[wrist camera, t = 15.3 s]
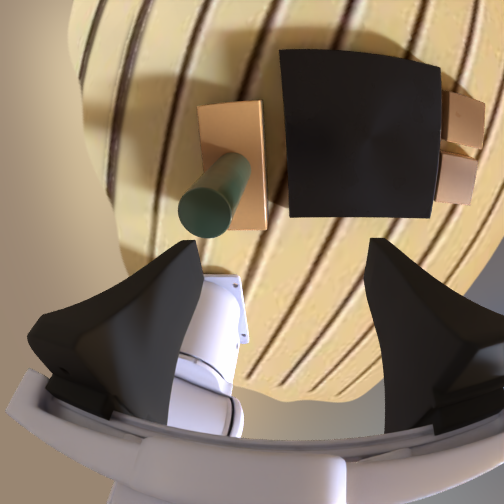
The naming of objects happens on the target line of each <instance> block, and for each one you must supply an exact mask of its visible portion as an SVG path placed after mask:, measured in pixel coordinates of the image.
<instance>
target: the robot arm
mask: <svg viewBox="0 0 504 504" xmlns="http://www.w3.org/2000/svg"><path fill="white" fill-rule="evenodd" d="M363 279H364V285H365V291H366V296H367V301H368V304H369V308H370V311H371V314H372V318H373V321H374V325H375V328H376V332H377V336H378V339H379V343H380V348H381V354H382V363H383V372H384V385H385V431H384V434H381V435H375V436H367V437H358V438H347V439H334V440H311V441H309V440H308V441H288V440H287V441H286V440H263V439H249V438H240V437H241V434H242V430H243V423H244V414H243V410H242V407H241V404H240V401H239V400H238V399H237V398H236V397H233V396H231V393H232V388H233V384H232V382H233V377H234V372H235V366H236V361H237V356H238V351H239V345H240V343H242V344H246V343H248V342H249V333H248V326H247V320H246V313H245V306H244V299H243V292H242V285H241V279H240V277H239V276H238V275H235V274H203V271H202V267H201V263H200V258H199V254H198V249H197V245H196V241H195V240H182V241H180V242H178V243H177V244H175V245H174V246H172V247H171V248H169V249H168V250H167V251H165V252H164V253H163V254H161V255H160V256H158V257H157V258H156V259H154V260H153V261H152V262H150V263H149V264H147V265H146V266H145V267H143V268H142V269H140V270H139V271H137V272H136V273H134V274H133V275H132V276H130V277H128V278H127V279H125V280H124V281H122V282H120V283H119V284H117V285H115V286H114V287H112V288H110V289H108V290H106V291H104V292H102V293H100V294H98V295H96V296H94V297H92V298H90V299H87V300H85V301H83V302H80V303H78V304H75V305H73V306H70V307H67V308H64V309H61V310H57V311H54V312H51V313H47V314H43V315H42V316H41V317H40V318H39V319H38V321H37V322H36V324H35V325H34V326H33V328H32V329H31V330H30V332H29V333H28V335H27V339H28V343H29V345H30V347H31V348H32V350H33V351H34V353H35V354H36V355H37V356H38V357H39V359H40V360H41V361H42V362H43V363H44V365H45V366H46V367H47V368H48V369H49V370H50V371H51V372H52V373H53V375H52V377H51V378H50V379H49V378H48V377H46V376H45V375H43V374H41V373H39V372H37V371H35V370H33V369H31V368H29V369H28V370H27V372H26V373H25V375H24V377H23V379H22V380H21V382H20V384H19V386H18V387H17V389H16V391H15V393H14V395H13V397H12V399H11V401H10V402H9V405H8V406H7V408H6V410H5V411H6V413H7V414H8V415H9V416H10V417H11V418H13V419H14V420H15V421H16V422H18V423H19V424H20V425H22V426H23V427H24V428H25V429H27V430H28V431H29V432H31V433H32V434H34V435H35V436H36V437H38V438H39V439H41V440H42V441H44V442H45V443H47V444H48V445H50V446H51V447H53V448H54V449H56V450H57V451H59V452H61V453H62V454H64V455H66V456H67V457H69V458H71V459H73V460H74V461H76V462H78V463H80V464H82V465H83V466H85V467H88V468H89V469H91V470H93V471H95V472H97V473H99V474H101V475H104V476H106V477H108V478H110V479H113V480H114V483H113V486H112V489H111V492H110V495H109V497H108V500H107V503H106V504H406V503H409V502H413V501H416V500H420V499H423V498H426V497H429V496H432V495H435V494H437V493H441V492H443V491H446V490H449V489H451V488H453V487H456V486H458V485H461V484H463V483H465V482H468V481H470V480H472V479H474V478H476V477H478V476H480V475H482V474H484V473H486V472H488V471H490V470H492V469H494V468H496V467H497V466H499V465H501V464H503V463H504V389H503V387H504V315H501V314H498V313H496V312H493V311H491V310H489V309H487V308H485V307H482V306H480V305H478V304H476V303H474V302H472V301H471V300H469V299H467V298H465V297H463V296H462V295H460V294H458V293H457V292H455V291H453V290H452V289H450V288H449V287H447V286H446V285H444V284H443V283H441V282H440V281H438V280H437V279H435V278H434V277H433V276H431V275H430V274H429V273H427V272H426V271H425V270H423V269H422V268H421V267H420V266H418V265H417V264H416V263H415V262H413V261H412V260H411V259H410V258H409V257H407V256H406V255H405V254H404V253H403V252H401V251H400V250H399V249H398V248H397V247H395V246H394V245H393V244H392V243H390V242H389V241H388V240H386V239H385V238H370V243H369V249H368V255H367V261H366V267H365V273H364V278H363ZM233 283H236V284H238V285H235V284H233ZM351 462H352V463H351Z"/></svg>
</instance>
